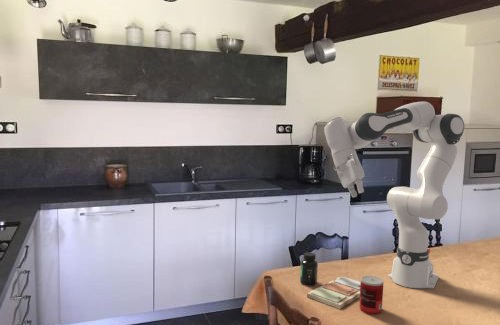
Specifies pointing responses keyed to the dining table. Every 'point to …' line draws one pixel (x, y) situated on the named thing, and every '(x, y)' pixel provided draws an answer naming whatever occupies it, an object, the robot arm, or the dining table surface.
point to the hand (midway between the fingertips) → (358, 194)
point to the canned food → (371, 294)
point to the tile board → (337, 292)
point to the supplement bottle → (309, 270)
